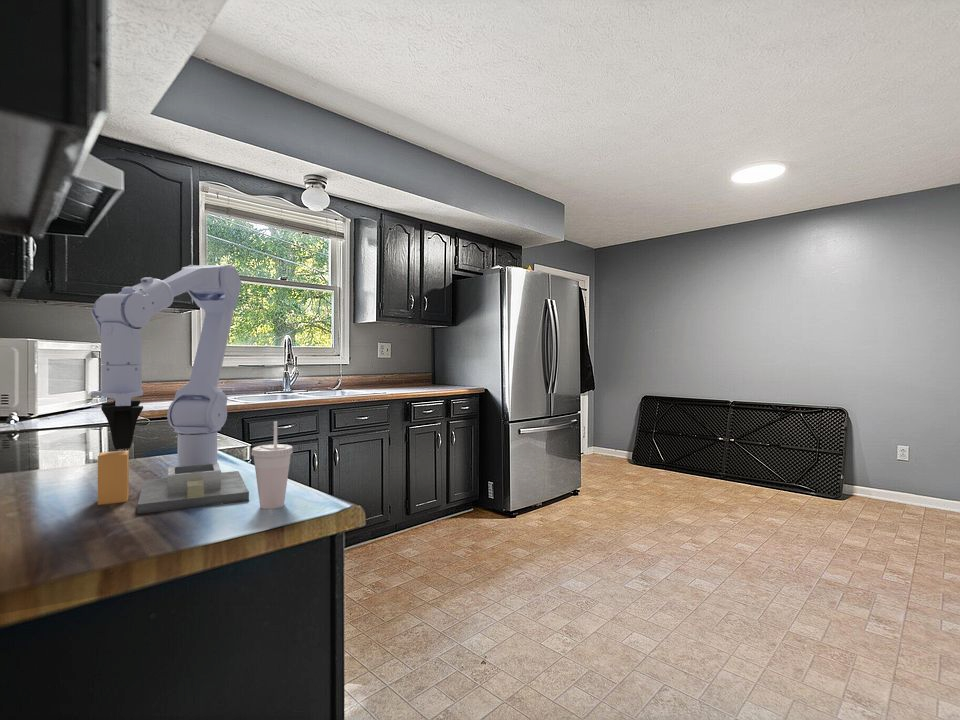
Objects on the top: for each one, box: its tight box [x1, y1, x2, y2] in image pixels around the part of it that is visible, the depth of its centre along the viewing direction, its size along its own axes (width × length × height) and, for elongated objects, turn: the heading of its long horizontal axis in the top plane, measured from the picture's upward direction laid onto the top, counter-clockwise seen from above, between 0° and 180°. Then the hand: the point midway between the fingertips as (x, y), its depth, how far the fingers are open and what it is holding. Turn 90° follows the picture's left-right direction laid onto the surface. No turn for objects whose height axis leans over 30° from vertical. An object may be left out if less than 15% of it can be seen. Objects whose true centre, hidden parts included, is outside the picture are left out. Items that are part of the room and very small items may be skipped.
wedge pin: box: [97, 450, 130, 506], centre depth 90 cm, size 4×4×8 cm
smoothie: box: [251, 420, 294, 510], centre depth 87 cm, size 6×6×14 cm
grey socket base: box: [136, 462, 250, 515], centre depth 94 cm, size 18×16×4 cm
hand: (121, 445), depth 89 cm, fingers open, 7 cm apart
